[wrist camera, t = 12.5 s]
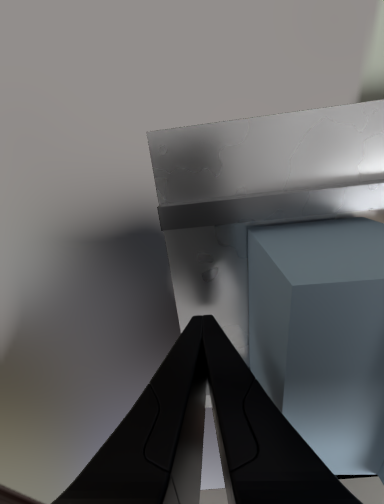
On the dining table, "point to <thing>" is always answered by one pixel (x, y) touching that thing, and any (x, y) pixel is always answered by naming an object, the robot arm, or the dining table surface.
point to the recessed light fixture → (364, 489)
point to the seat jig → (257, 195)
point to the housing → (322, 334)
